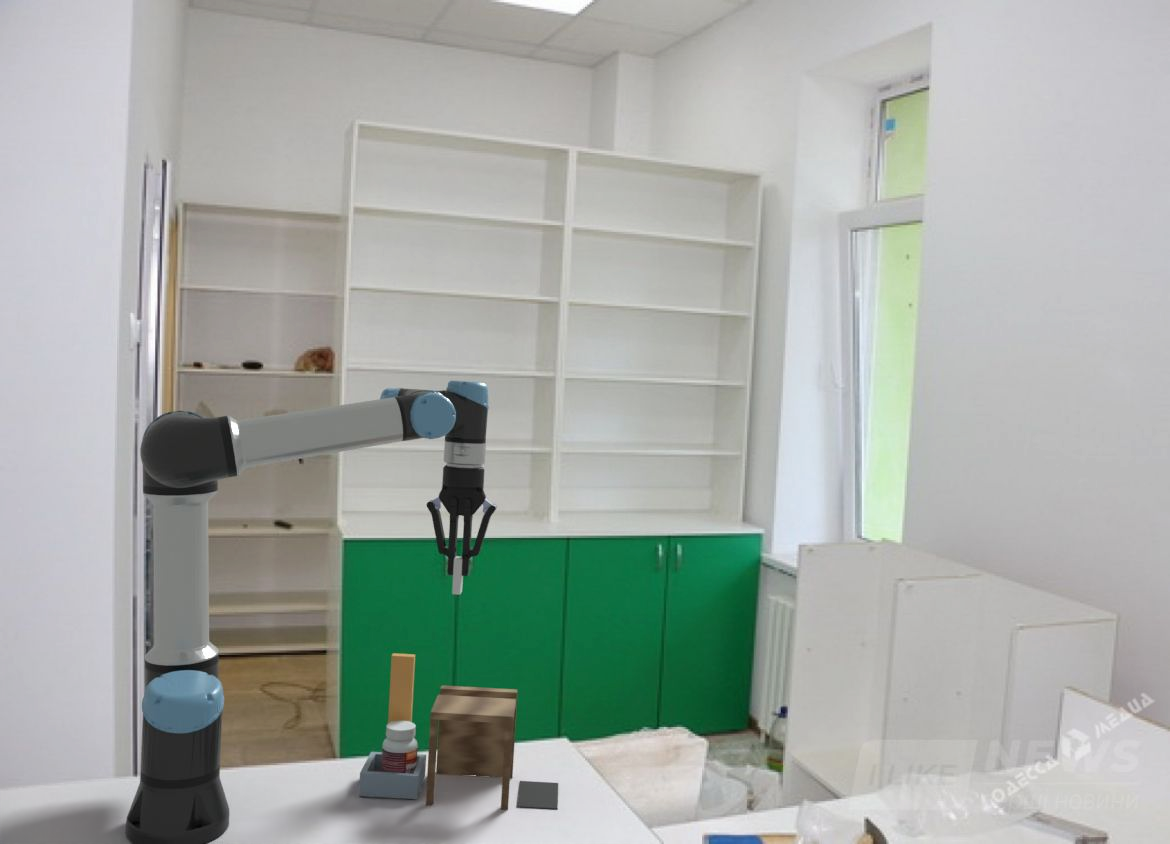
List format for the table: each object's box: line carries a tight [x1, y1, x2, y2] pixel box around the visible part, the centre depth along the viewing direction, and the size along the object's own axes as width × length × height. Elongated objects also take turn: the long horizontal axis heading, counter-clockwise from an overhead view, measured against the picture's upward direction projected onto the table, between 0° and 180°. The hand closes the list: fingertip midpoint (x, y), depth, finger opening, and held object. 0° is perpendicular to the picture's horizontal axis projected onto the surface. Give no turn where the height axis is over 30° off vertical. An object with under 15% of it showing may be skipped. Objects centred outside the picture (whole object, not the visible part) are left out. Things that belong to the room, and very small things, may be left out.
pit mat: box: [516, 780, 559, 810], centre depth 183 cm, size 7×11×1 cm, turn 1°
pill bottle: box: [381, 721, 419, 774], centre depth 182 cm, size 6×6×11 cm
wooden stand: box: [425, 685, 519, 811], centre depth 183 cm, size 14×15×16 cm
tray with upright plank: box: [358, 652, 427, 800], centre depth 182 cm, size 10×10×22 cm
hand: (457, 592), depth 190 cm, fingers closed
